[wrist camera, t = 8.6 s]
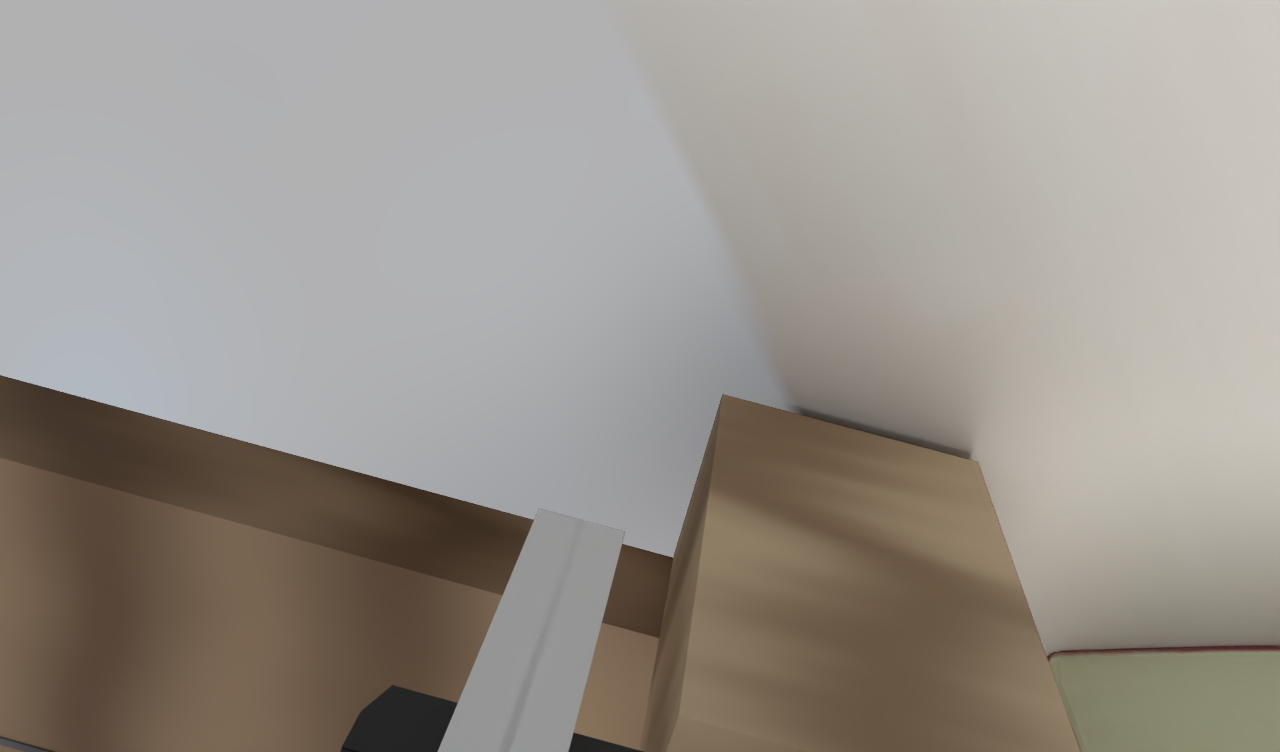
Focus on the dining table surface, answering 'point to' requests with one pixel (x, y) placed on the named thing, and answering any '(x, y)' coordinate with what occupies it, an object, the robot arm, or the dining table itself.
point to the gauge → (844, 603)
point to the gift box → (1172, 699)
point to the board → (250, 591)
